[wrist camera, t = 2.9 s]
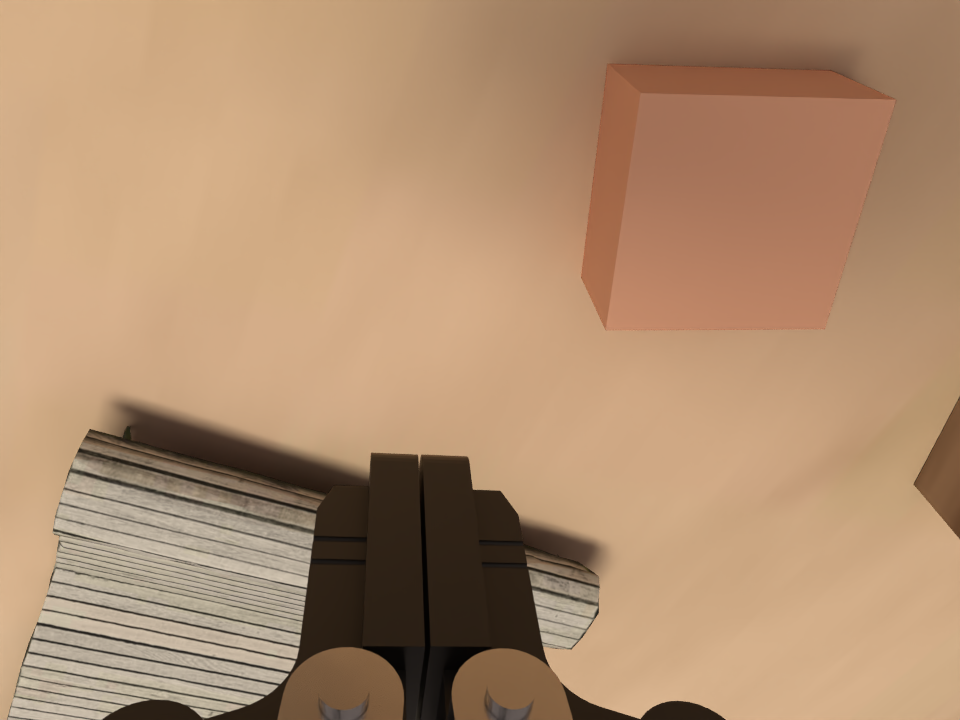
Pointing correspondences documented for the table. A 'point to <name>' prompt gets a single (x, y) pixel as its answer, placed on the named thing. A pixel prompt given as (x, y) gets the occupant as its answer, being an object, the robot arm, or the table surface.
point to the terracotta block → (727, 195)
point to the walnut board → (944, 473)
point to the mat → (197, 586)
